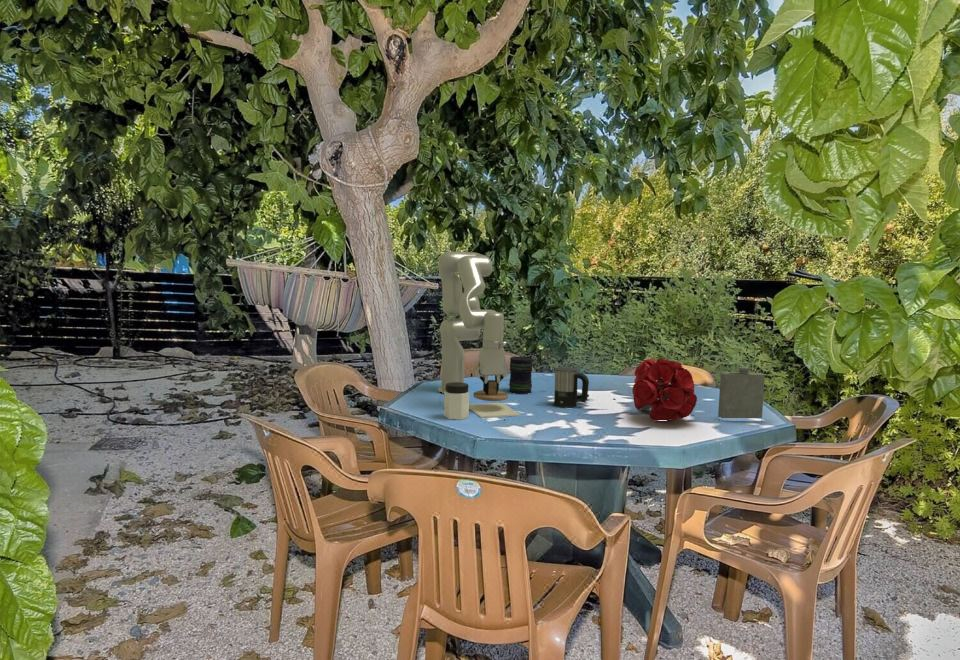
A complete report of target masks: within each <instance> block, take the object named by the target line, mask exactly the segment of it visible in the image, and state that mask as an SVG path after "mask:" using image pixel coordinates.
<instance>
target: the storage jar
mask: <svg viewBox="0 0 960 660" xmlns="http://www.w3.org/2000/svg"><path fill="white" fill-rule="evenodd" d="M509 359H510V361H509V371H510V374H509V375H510V377H509V384H508V386H509V391H508V393H510V392H511V393H510V394H513V393H515V394H514V395H529V394H528V393H530V394H532V386H533V385H532V383H533V382H532V381H533V380H532V372H533V357H531V356H530V357H529V356H511V357H509Z"/></svg>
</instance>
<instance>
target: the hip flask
mask: <svg viewBox="0 0 960 660" xmlns="http://www.w3.org/2000/svg"><path fill="white" fill-rule="evenodd" d="M749 371H750V367H748V366H738V371H729V372H725V371H724V372H720V379H719V381H720V383H719V394H718V395H719V396H718V397H719V398H718V412H717V413H718V414H717V418H718V417H721V418H762V419H763V407H764V395H765V394H764V393H765V381H766V380H765V378H766V374H765V373H762V372H761V373H760V372H759V373H758V372H757V373H756V372H751V373H749Z"/></svg>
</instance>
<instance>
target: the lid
mask: <svg viewBox="0 0 960 660" xmlns="http://www.w3.org/2000/svg"><path fill="white" fill-rule="evenodd" d="M488 384H489V387H488V394H486V393H485V392H484V391H483V389H482V390H477V391H475V392H473V398H475V399H476V400H481V401H485V402H486V401H489V402H498V401H499V402H500V401H505V400H507V399H508V398H509V394H508V393H507V392H504V391H501V390H499V391H498V393H497V394H496V387H497V382H496V381H495V379H488Z"/></svg>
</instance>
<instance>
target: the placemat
mask: <svg viewBox="0 0 960 660" xmlns="http://www.w3.org/2000/svg"><path fill="white" fill-rule="evenodd" d="M469 410H471V411H472V412H473V414H475V415H476V416H478V417H479V418H480V419H489V418H490V419H491V418H506V417H507V418H509V417H508V416H512V417H521V414H520V413H519V412H518V411H515V410H514V409H513V408H511V407H509V406H508V405H507V404H505V403H504V402H490V403H489V402H488V403H485V402H484V403H469Z"/></svg>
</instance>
